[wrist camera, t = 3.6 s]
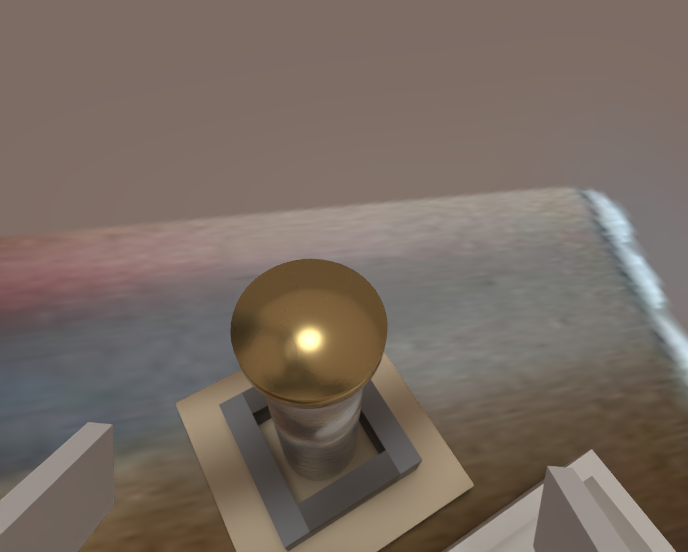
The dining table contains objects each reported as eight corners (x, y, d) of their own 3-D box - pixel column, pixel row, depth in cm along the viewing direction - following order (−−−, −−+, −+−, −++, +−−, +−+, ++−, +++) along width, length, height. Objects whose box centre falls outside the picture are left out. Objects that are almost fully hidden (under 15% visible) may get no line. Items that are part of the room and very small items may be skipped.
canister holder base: (180, 409, 27) (164, 389, 24) (355, 318, 30) (357, 293, 27) (269, 624, 22) (261, 628, 19) (469, 488, 25) (484, 476, 22)
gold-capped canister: (260, 426, 25) (206, 297, 14) (335, 384, 27) (338, 238, 16) (300, 508, 23) (272, 430, 12) (379, 459, 25) (418, 349, 14)
